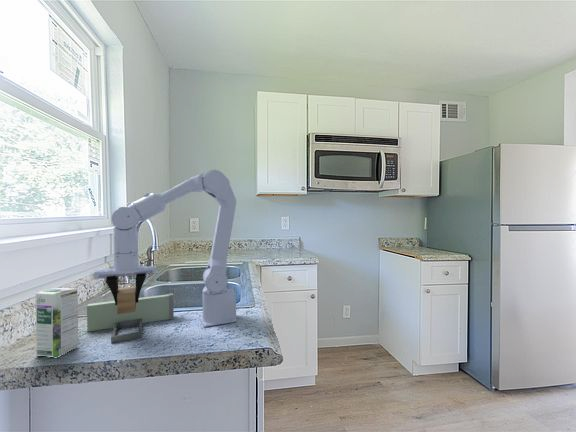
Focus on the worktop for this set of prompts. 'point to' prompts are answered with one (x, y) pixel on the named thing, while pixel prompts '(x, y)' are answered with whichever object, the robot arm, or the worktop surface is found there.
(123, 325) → the socket
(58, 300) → the syrup box
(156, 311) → the door panel
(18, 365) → the worktop surface
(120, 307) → the bar
